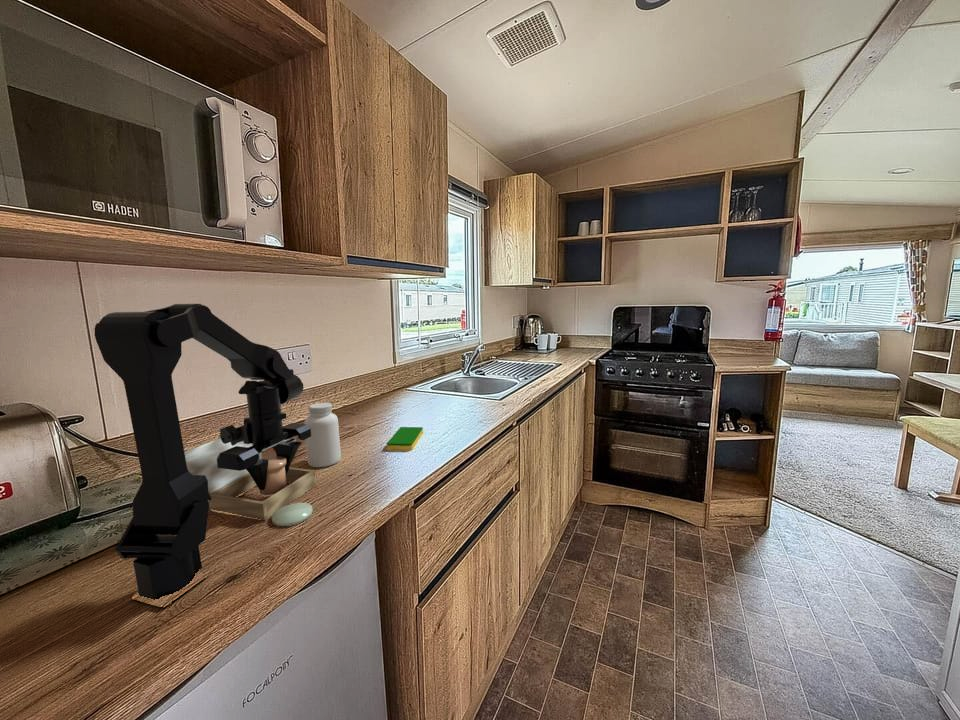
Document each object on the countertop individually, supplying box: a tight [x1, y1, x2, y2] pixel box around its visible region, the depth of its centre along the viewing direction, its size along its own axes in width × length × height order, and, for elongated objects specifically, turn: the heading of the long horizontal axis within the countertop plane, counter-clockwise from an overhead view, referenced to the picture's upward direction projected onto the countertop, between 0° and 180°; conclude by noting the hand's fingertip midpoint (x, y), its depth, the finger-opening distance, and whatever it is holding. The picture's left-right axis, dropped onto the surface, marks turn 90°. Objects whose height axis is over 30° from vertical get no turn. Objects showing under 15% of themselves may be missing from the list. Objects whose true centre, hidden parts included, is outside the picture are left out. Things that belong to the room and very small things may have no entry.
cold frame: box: [184, 437, 317, 521], centre depth 80 cm, size 14×20×11 cm
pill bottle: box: [303, 402, 342, 468], centre depth 97 cm, size 8×8×15 cm
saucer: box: [271, 502, 314, 527], centre depth 73 cm, size 7×7×1 cm
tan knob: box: [258, 455, 288, 496], centre depth 79 cm, size 6×6×6 cm
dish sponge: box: [386, 426, 424, 452], centre depth 111 cm, size 7×14×2 cm, turn 176°
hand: (272, 483), depth 80 cm, fingers closed on tan knob, 5 cm apart
